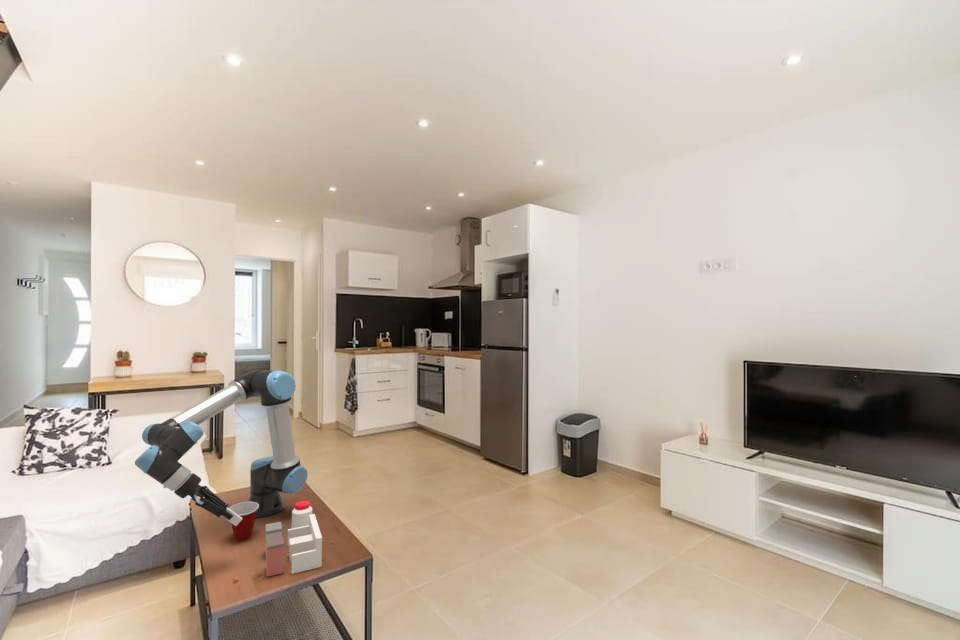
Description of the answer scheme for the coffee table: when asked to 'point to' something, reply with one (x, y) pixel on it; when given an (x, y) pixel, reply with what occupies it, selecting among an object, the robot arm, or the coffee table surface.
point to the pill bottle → (301, 514)
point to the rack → (305, 546)
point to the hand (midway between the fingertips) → (239, 522)
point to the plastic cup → (244, 519)
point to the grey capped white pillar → (273, 530)
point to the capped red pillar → (274, 555)
